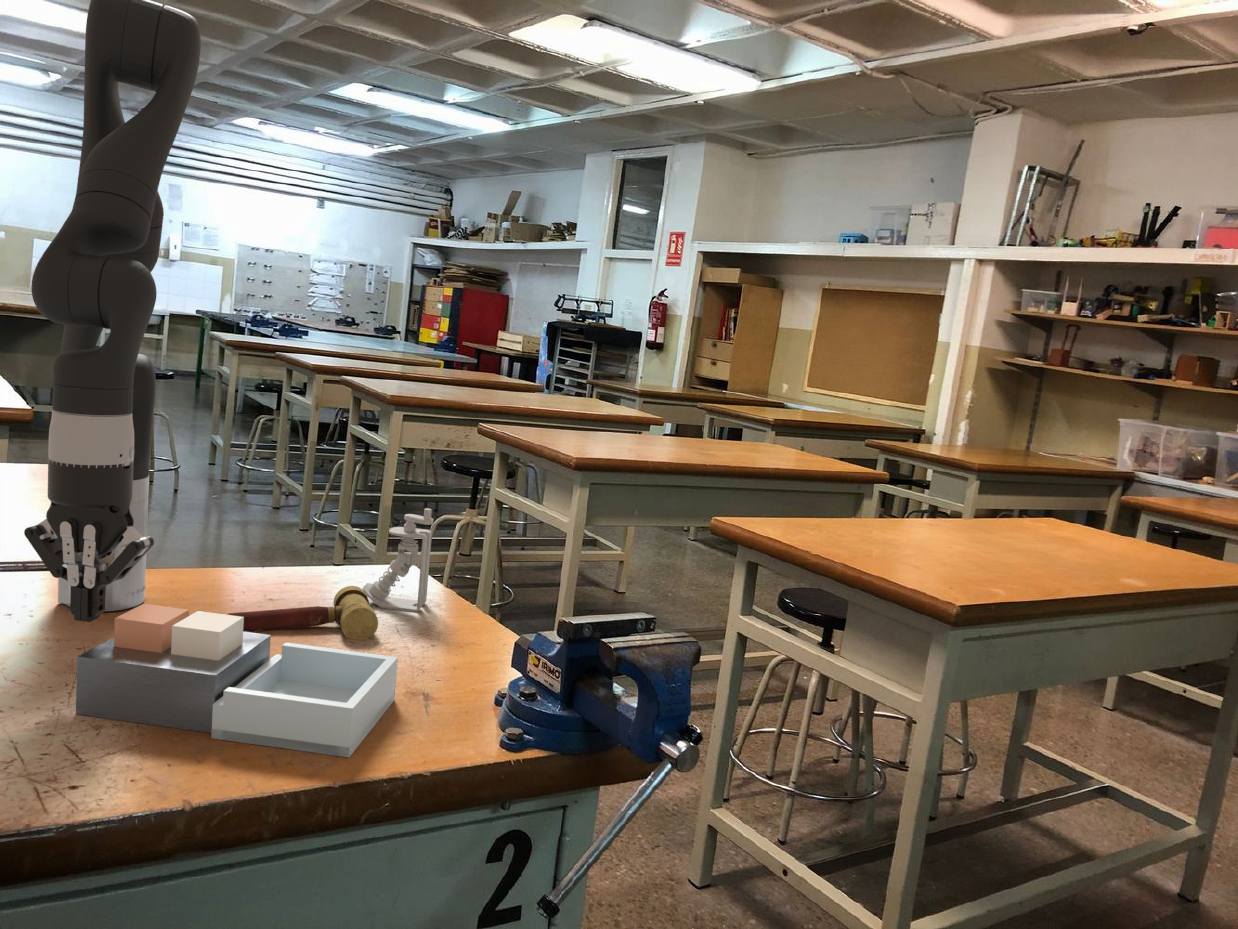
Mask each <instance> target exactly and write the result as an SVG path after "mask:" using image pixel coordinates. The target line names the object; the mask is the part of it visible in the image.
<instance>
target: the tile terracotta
mask: <svg viewBox="0 0 1238 929" xmlns="http://www.w3.org/2000/svg"><path fill="white" fill-rule="evenodd" d="M188 616H190V609H187V608H186V609H185V608H181V607H180V608H178V607H170V606H163V605H155V604H149V603H141V604H139V605H137V606H135V607H133V608H132V609H130V610H129V611H127V612H124V613H123V614H121V615H118V616H117V617H114V631H113V632H114V634H113V637H114V647H122V648H129V649H137V650H144V651H152V652H159V653H162V652H164V651H165V650H167V649H169V648H170V647H171V643H172V626H173V625H174V624H176V623H178V622H180V621H181V620H183V619H185V618H187V617H188Z"/></svg>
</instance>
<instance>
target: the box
mask: <svg viewBox="0 0 1238 929" xmlns="http://www.w3.org/2000/svg"><path fill="white" fill-rule="evenodd" d="M398 661H399V657H398V656H391V655H383V654H375V653H368V652H360V651H355V650H354V651H353V650H346V649H341V648H339V649H338V648H330V647H325V646H323V647H322V646H316V645H310V644H309V645H308V644H301V643H293V642H285V643H283V644H282V645H281V654H277V653H276V654H275V655H273V656H272V657H270V658H269V660H268V661H267V662H266V663H265V664H263V665H262V666H261V667H260V668H258V669H257V670H256V671H254V672H253V673H252V674H251V675H249V676H248V677H247V678H246V679H244V680H243V681H242V682H240V683H239V684H238V685H237V686H235V687H234V688H233V687H228V688H227V689H225V690H224V695H223V697H221V698H220V699H219V700H218V701H216V702H215V703H214V704H213V713H212V733H210V736H211V737H210V738H211V739H213V740H219V741H220V740H223V741H228V742H229V741H230V742H235V743H241V744H243V743H244V744H250V745H258V746H266V747H269V748H279V749H285V750H294V751H301V752H307V753H314V754H320V755H321V754H322V755H328V756H337V757H344V758H350V757H351V756H352V755H353V754H354V752H355V751H356V750H357V748H358V747H359V746H360V744H362V742H363V741H364V739H365V738H366V737H367V735H368V734H369V733H370V732H371V730H372V729H373V728H374V727H375V726H376V724H377V723H378V722H379V720H380V719H381V718H382V717H383V716H384V714H385V713H386V712H387V710H388V709H389V708H390V706H391V705H392V704H393V703H394V701H395V698H396V688H397V686H396V685H397V674H398V672H397V671H398Z"/></svg>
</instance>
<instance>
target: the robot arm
mask: <svg viewBox="0 0 1238 929" xmlns="http://www.w3.org/2000/svg"><path fill="white" fill-rule="evenodd" d="M85 24H86V25H85V38H84V39H85V44H84V83H83V85H84V86H83V87H84V88H83V93H84V94H83V125H82V126H83V128H82V141H81V150H80V158H79V167H78V174H77V175H78V176H77V183H76V184H77V185H76V192H75V197H74V200H73V206H72V209H71V210H70V213H69V214H68V216H67V218H66V220H65V221H64V222H63V224H62V226H61V227H60V229H59V230H58V232H57V234H56V235H55V236H54V238H53V239H52V240H51V242H50V244H49V245H48V246H47V247H46V249H45V251H43V253H42V255H41V256H40V259H39V260H38V262H37V264H36V266H35V269H34V272H33V274H32V279H31V286H30V287H31V298H32V300H33V303H34V306H35V307H36V309H37V310H38V312H39V313H40V315H42V317H44V318H45V319H47V320H49V321H50V322H53V323H57V324H61V325H64V328H63V333H62V334H63V335H62V341H61V346H60V352H59V354H57V355H56V357H55V359H54V360H53V368H52V403H51V404H52V407H51V408H52V410H51V418H50V424H49V428H48V429H49V430H48V449H47V450H48V453H47V454H48V456H47V498H48V500H49V501H50V506H49V508H48V510H46V513H45V514H46V515H45V516H46V518H45V519H44V520H42V521H41V522H39V523H38V524H35V525H33V526H29V527H26V528H25V529H24V530H23V532H24V533H23V534H24V536H25V538H26V540H27V541H28V542H29V544H30V545H31V546H32V549H34V551H35V552H36V553H37V555H38V556H39V559H40V560H41V561H42V562H43V564H44V566H45V567H46V569H47V570H48V571H49V572H50V574H51V576H52V577H53V578H56V579H58V580H57V586H58V587H57V603H58V604H64V605H66V606H67V607H69V610H70V613H71V615H73V620H75V621H78V622H85V623H91V622H93V621H95V620H97V619H99V618H100V616H101V615H102V614H104V612H115V611H122V610H127V609H131V608H136V607H138V606H140V605H142V604H144V601H145V595H146V594H145V593H146V571H147V553H148V552H149V551H150V549H152V547H153V545H155V544H154V543H155V540H154V538H153V537H152V536H150V535H148V521H149V520H148V514H149V513H148V512H149V487H150V486H149V484H150V483H149V482H150V461H151V450H152V432H153V431H152V430H153V422H154V421H153V420H154V413H155V412H154V410H155V402H156V388H157V382H156V378H157V377H156V370H155V368H154V364H153V362H152V360H151V359H150V358H149V356H148V355H145V354H143V353H139V352H140V348H141V345H142V342H143V340H144V336H145V334H146V331H147V328H148V326H149V323H150V320H151V318H152V315H153V312H154V308H155V306H156V303H157V285H156V282H155V279H154V276H153V275H152V271H154V269H155V266H156V264H157V263H158V261H159V260H158V259H159V257H160V256H159V255H160V248H161V240H162V235H163V234H162V233H163V223H164V222H163V221H164V213H165V212H164V210H165V209H164V205H163V202H162V199H161V195H160V193H159V191H158V190H159V186H160V181H161V179H162V175H163V171H164V169H165V165H166V162H167V160H168V157H169V154H170V152H171V149H172V147H173V145H174V142H175V140H176V137H177V134H178V132H179V129H180V127H181V124H182V122H183V118H184V115H185V113H186V111H187V110H186V109H187V107H188V104H189V101H190V99H191V95H192V93H193V89H194V86H195V84H196V80H197V76H198V71H199V67H200V59H201V50H202V48H201V47H202V41H201V40H202V38H201V30H200V25H199V23H198V21H197V19H196V18H195V17H194V16H193V15H191V14H189V13H188V12H185V11H184V10H180V9H178V8H175V7H172V6H170V5H166V4H163V3H160V2H156V1H153V0H90V3H89V5H88V11H87V16H86V22H85ZM119 83H122V84H127V85H131V86H134V87H138V88H141V89H144V90H149V91H152V92H153V91H154V92H155V94H154V95H153V97H152V98H151V100H150V101H149V102H148V103H147V104H146V106H144V107H143V108H142V109H141V110H140V111H139V112H138V113H136V114H135V115H134V116H133V117H131V118H130V119H128V120H126V121H125V118H124V113H123V109H122V106H121V99H120V94H119ZM104 329H109V335H108V337H107V338H106V339H105V340H106V341H104V343H102V345H101V346H99V347H97V344H98V342H99V338H100V336H101V335H102V334H101V333H102V332H103V330H104Z"/></svg>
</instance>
